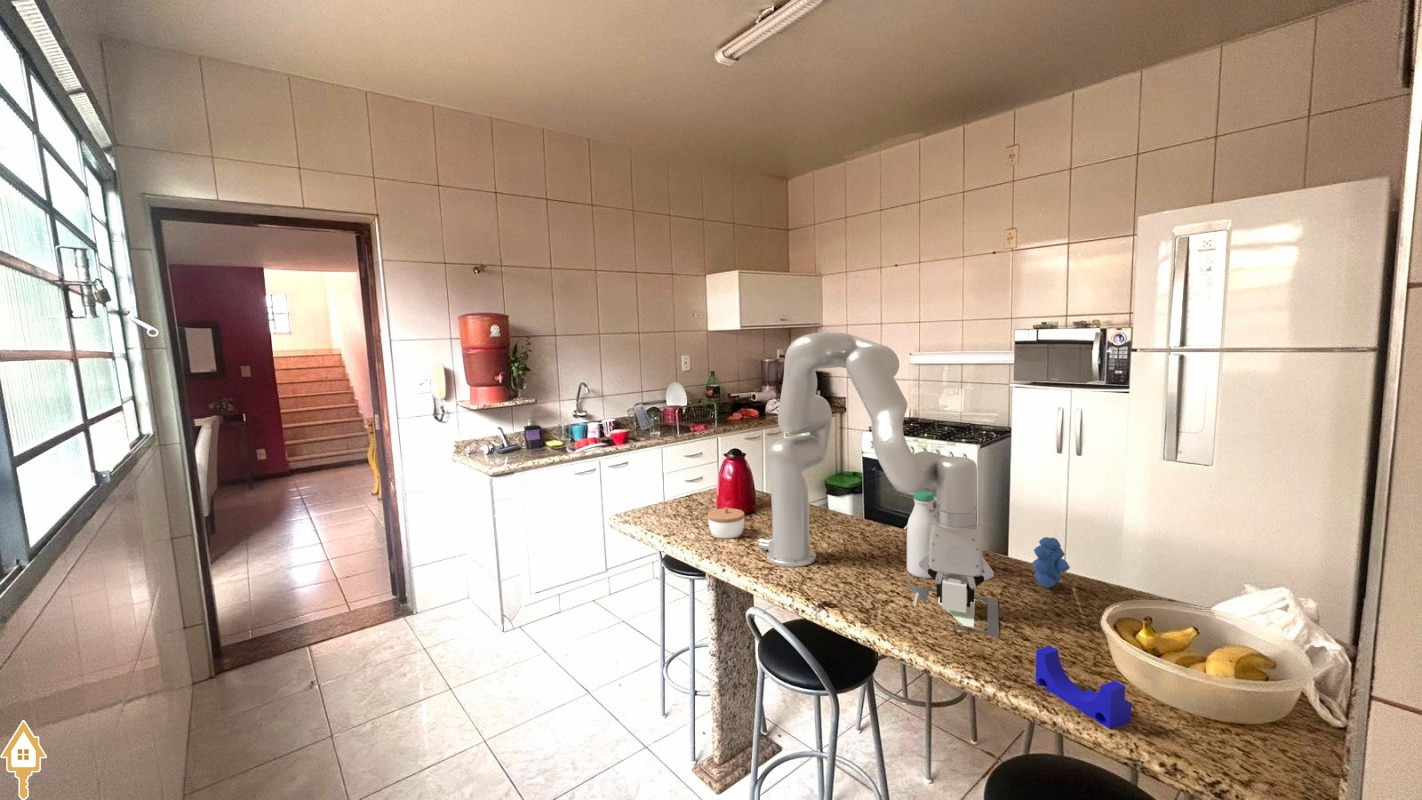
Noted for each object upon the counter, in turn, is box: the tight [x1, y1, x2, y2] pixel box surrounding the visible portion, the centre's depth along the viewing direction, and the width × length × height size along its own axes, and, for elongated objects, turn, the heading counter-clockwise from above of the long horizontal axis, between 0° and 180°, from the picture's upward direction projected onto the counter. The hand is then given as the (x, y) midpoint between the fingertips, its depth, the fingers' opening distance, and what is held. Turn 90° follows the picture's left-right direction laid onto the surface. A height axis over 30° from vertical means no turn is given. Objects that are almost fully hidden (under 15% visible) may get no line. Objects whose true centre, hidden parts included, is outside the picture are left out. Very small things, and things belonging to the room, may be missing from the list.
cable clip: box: [1035, 645, 1133, 730], centre depth 87 cm, size 12×4×6 cm, turn 21°
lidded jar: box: [707, 507, 745, 539], centre depth 166 cm, size 11×11×9 cm
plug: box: [941, 573, 968, 613], centre depth 117 cm, size 5×7×6 cm, turn 154°
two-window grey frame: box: [879, 579, 1000, 638], centre depth 121 cm, size 32×17×1 cm, turn 64°
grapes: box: [1031, 536, 1071, 589], centre depth 126 cm, size 12×7×12 cm, turn 126°
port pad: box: [937, 597, 976, 629], centre depth 118 cm, size 7×13×1 cm, turn 154°
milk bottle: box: [906, 490, 936, 579], centre depth 136 cm, size 8×8×20 cm
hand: (955, 601), depth 118 cm, fingers closed on plug, 4 cm apart
